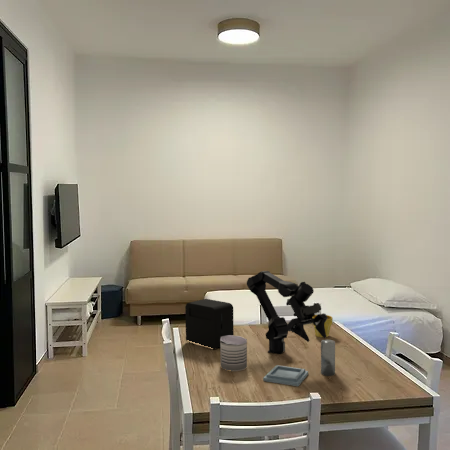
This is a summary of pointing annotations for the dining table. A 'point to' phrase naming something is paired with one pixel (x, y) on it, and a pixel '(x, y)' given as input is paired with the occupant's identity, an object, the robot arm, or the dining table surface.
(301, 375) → the plate
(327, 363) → the grey shiny round cylinder
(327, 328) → the plant pot
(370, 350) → the dining table surface
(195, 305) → the air purifier
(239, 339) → the can
